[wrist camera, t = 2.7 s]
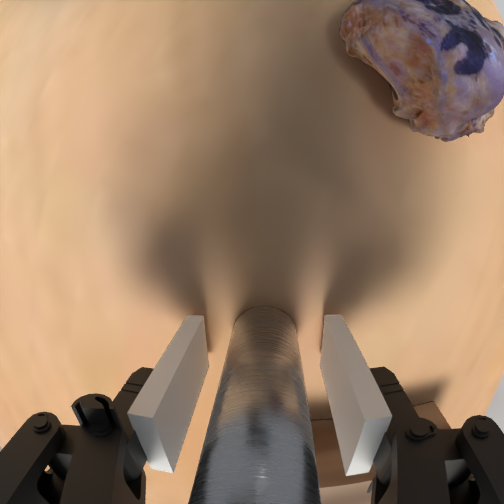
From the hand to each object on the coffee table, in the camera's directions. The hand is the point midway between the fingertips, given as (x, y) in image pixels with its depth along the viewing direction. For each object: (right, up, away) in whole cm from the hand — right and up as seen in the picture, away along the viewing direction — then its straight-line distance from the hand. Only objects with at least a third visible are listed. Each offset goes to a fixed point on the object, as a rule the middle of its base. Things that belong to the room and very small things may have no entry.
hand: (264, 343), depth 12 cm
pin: (0, 0, +1) cm, 1 cm away
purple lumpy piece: (+9, +14, -2) cm, 16 cm away
